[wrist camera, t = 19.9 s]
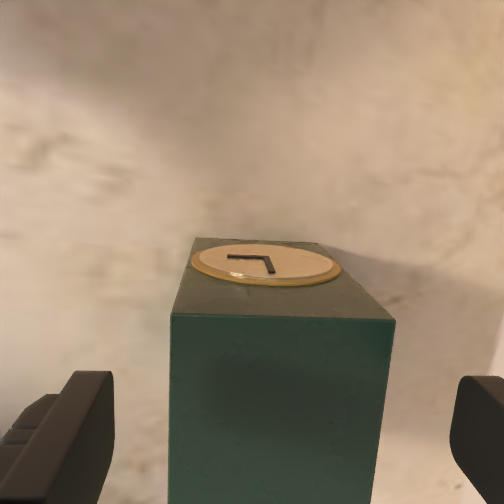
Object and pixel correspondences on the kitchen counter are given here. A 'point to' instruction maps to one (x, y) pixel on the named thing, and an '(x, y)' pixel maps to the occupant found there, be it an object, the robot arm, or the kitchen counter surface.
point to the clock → (274, 377)
